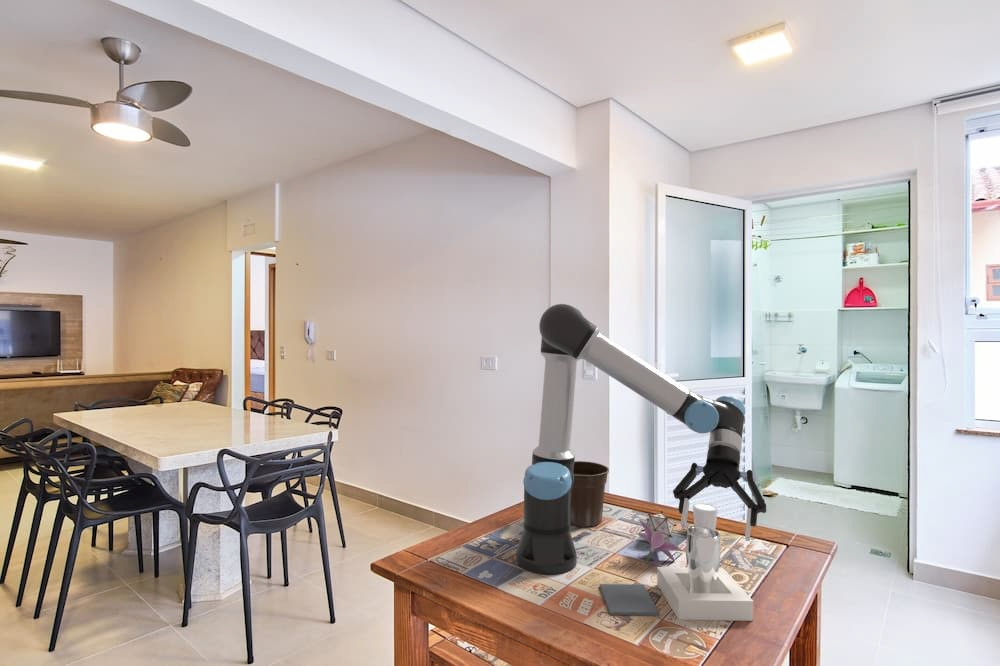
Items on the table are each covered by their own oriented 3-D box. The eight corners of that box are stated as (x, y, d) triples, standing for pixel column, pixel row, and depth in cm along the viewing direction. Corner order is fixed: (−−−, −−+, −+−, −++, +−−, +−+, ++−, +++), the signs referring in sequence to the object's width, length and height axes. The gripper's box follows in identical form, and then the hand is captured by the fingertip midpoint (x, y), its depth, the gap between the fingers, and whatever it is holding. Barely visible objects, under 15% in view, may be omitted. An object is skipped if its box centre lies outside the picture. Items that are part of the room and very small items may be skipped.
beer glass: (724, 601, 117) (725, 532, 117) (711, 613, 112) (713, 541, 112) (693, 590, 122) (694, 523, 121) (679, 601, 116) (680, 532, 116)
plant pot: (571, 533, 154) (572, 477, 154) (544, 515, 169) (545, 463, 169) (619, 526, 160) (619, 471, 160) (589, 508, 175) (590, 459, 175)
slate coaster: (610, 614, 111) (610, 611, 111) (599, 586, 123) (599, 583, 123) (659, 615, 111) (659, 612, 111) (643, 587, 123) (643, 584, 123)
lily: (683, 578, 130) (692, 538, 133) (640, 560, 129) (650, 520, 132) (659, 572, 141) (668, 535, 144) (619, 555, 140) (629, 518, 143)
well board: (678, 619, 109) (679, 600, 109) (657, 584, 124) (657, 566, 124) (753, 620, 109) (753, 601, 109) (722, 585, 124) (723, 567, 124)
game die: (665, 557, 147) (683, 536, 142) (636, 546, 148) (653, 524, 142) (664, 531, 155) (681, 509, 150) (636, 520, 155) (652, 498, 150)
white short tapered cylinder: (714, 537, 153) (715, 512, 153) (689, 531, 157) (690, 507, 156) (719, 529, 159) (719, 505, 159) (695, 524, 162) (695, 501, 162)
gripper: (780, 467, 131) (776, 551, 118) (674, 454, 143) (660, 529, 130) (780, 449, 126) (776, 535, 113) (670, 437, 138) (655, 514, 126)
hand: (714, 532), depth 122 cm, fingers open, 13 cm apart
